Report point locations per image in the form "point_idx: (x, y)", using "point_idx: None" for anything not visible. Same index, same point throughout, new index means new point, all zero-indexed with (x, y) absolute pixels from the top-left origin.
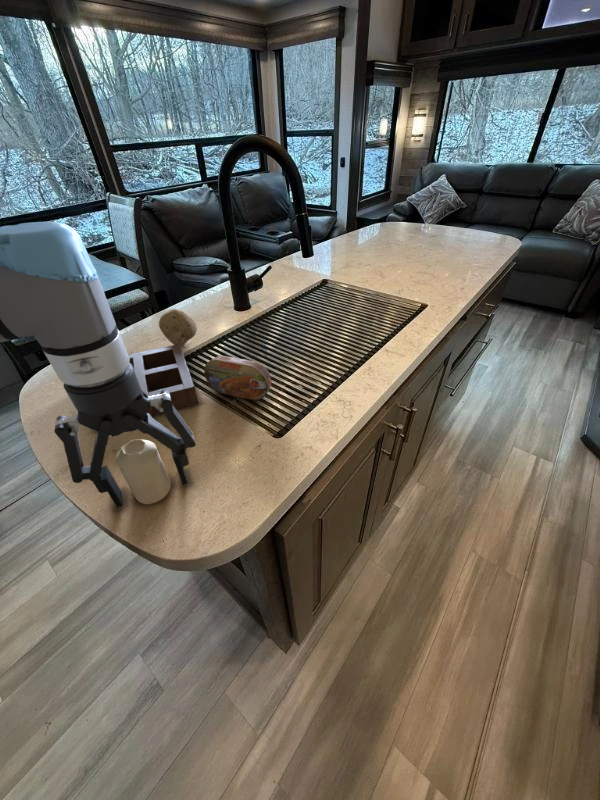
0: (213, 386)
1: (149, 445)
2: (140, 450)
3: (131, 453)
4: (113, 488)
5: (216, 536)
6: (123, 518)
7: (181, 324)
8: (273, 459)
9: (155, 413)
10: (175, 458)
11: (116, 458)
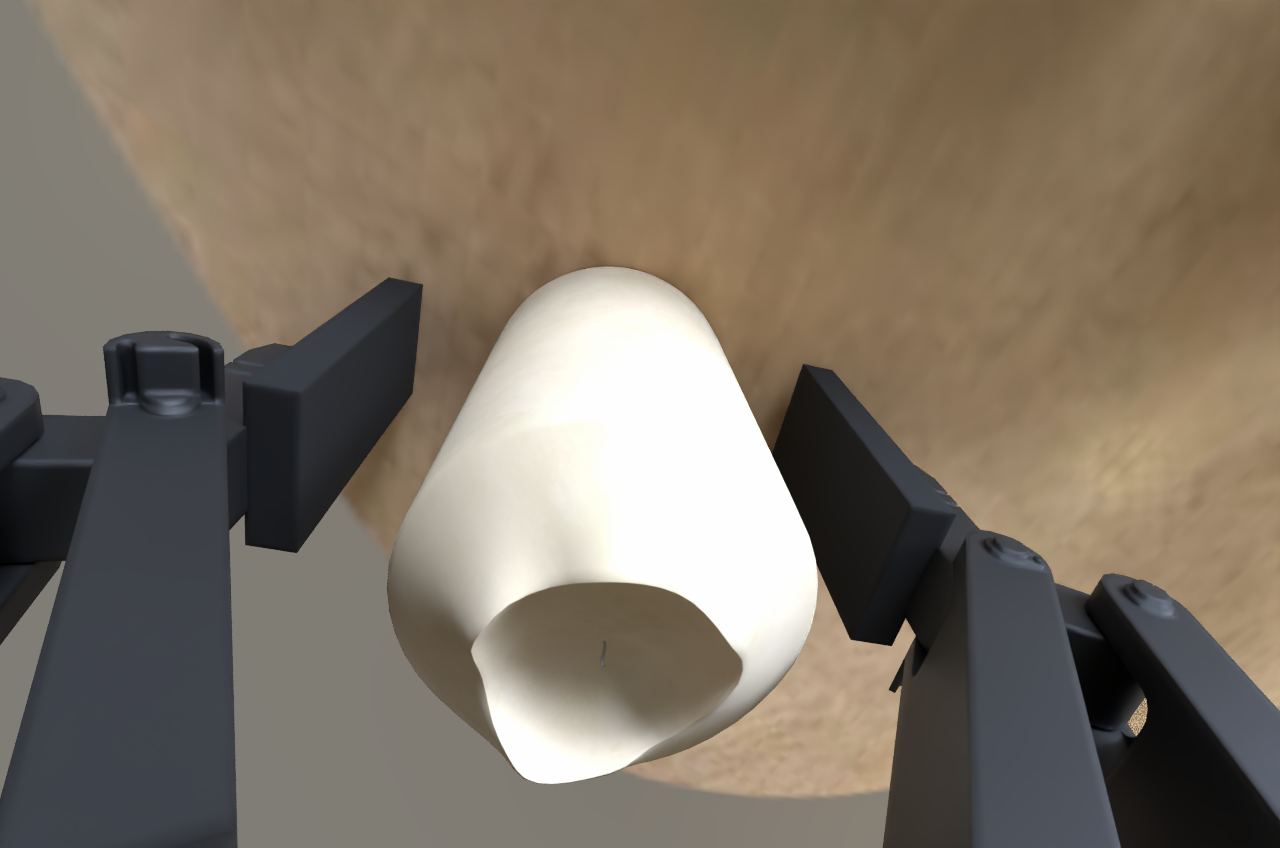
0: None
1: (766, 675)
2: (657, 666)
3: (559, 673)
4: (359, 445)
5: (753, 754)
6: (407, 465)
7: None
8: (1251, 573)
9: None
10: (865, 637)
11: (396, 586)
